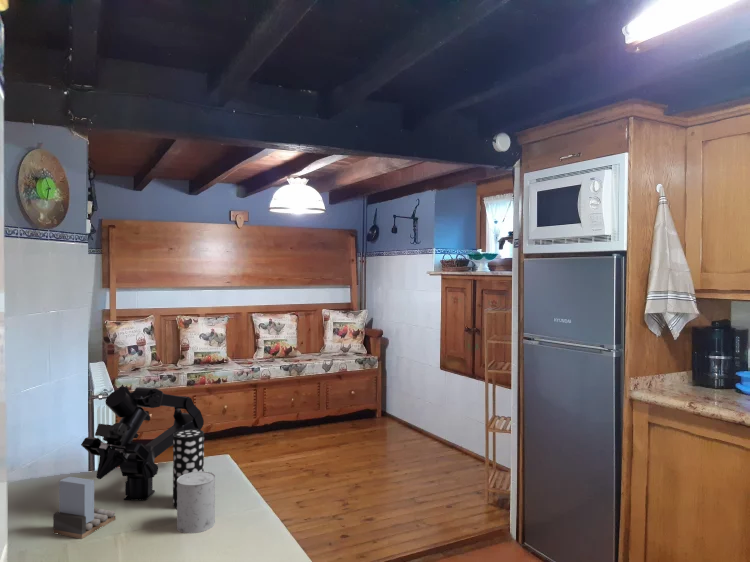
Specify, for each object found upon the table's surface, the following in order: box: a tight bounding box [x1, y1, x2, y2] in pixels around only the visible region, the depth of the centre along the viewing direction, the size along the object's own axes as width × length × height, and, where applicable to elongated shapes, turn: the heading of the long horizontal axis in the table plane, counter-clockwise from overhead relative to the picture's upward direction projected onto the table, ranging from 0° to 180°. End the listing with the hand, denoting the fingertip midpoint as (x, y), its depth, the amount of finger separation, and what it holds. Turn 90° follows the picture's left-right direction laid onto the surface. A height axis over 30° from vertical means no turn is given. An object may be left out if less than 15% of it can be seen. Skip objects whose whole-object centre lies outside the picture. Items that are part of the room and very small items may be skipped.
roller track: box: [52, 507, 116, 540], centre depth 140 cm, size 11×9×5 cm
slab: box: [58, 476, 95, 523], centre depth 137 cm, size 3×8×10 cm, turn 73°
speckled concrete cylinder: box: [176, 470, 216, 534], centre depth 141 cm, size 10×10×12 cm
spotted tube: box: [172, 429, 205, 509], centre depth 154 cm, size 8×8×20 cm
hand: (98, 478), depth 144 cm, fingers closed
